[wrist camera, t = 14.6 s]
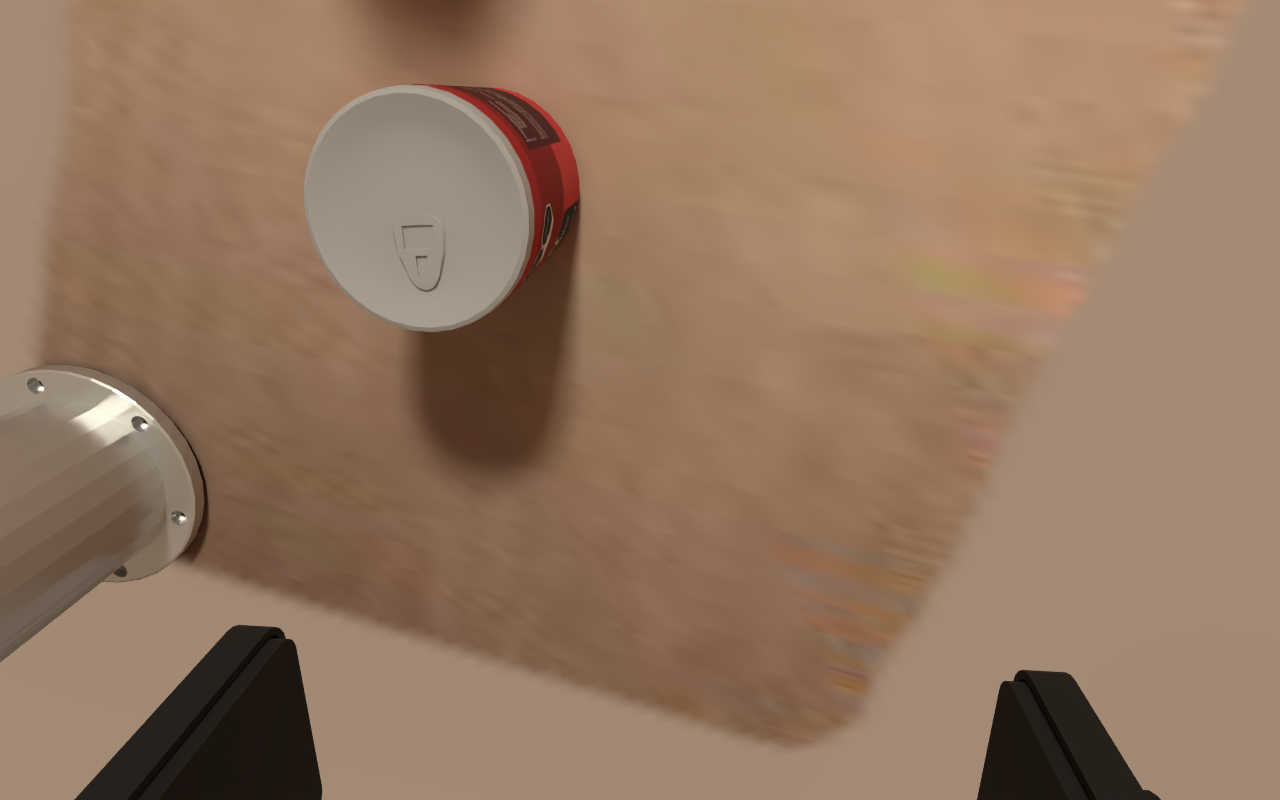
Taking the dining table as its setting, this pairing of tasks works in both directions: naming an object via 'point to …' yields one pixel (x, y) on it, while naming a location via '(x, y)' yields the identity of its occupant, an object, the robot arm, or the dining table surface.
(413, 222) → the canned food
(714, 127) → the dining table surface
